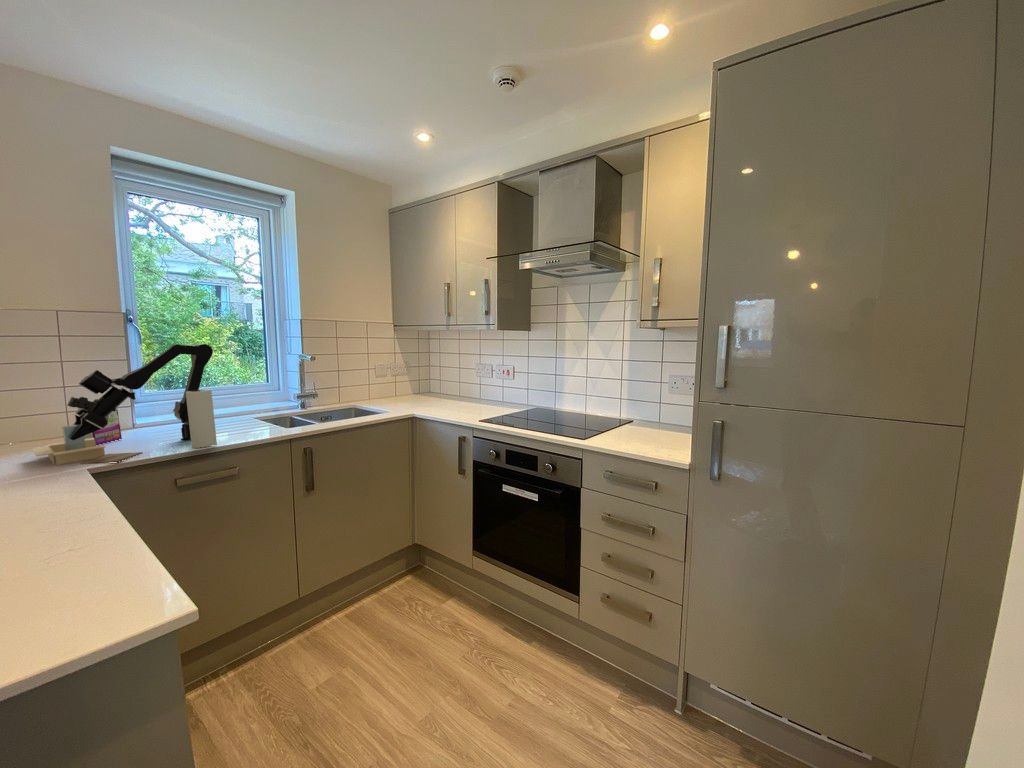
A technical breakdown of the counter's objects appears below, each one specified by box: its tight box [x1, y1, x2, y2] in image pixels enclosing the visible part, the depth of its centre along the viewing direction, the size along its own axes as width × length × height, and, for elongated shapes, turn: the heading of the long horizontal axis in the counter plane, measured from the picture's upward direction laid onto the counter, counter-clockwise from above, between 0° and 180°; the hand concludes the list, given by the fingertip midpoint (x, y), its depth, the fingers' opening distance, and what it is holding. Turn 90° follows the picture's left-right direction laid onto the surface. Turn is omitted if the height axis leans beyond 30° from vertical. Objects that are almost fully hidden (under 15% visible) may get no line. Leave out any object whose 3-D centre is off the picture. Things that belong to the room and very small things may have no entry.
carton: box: [31, 438, 106, 466], centre depth 147 cm, size 22×23×4 cm
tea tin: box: [61, 424, 86, 451], centre depth 145 cm, size 5×5×11 cm
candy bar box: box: [77, 407, 123, 446], centre depth 166 cm, size 11×5×16 cm, turn 179°
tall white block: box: [186, 389, 218, 449], centre depth 157 cm, size 7×6×21 cm
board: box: [80, 451, 143, 465], centre depth 143 cm, size 11×11×1 cm
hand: (69, 437), depth 144 cm, fingers open, 9 cm apart
